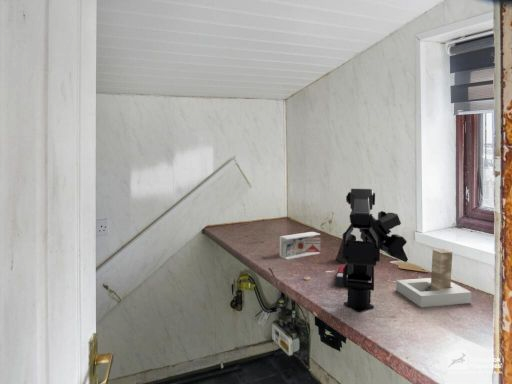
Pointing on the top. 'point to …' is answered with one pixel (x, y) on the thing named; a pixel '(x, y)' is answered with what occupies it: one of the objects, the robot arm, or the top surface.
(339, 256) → the phone stand
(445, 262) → the keyhole post
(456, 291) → the keyhole plate
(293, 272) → the top surface
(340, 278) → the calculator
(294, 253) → the cigarette display
